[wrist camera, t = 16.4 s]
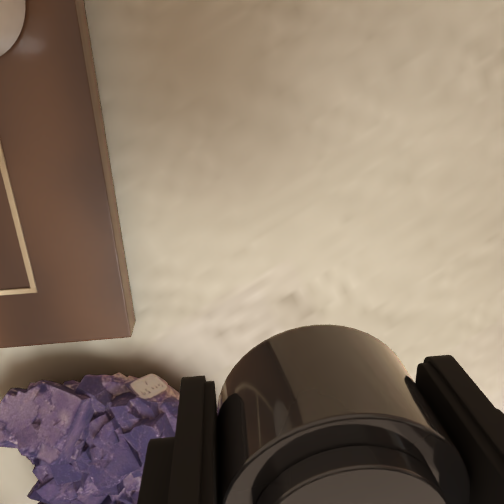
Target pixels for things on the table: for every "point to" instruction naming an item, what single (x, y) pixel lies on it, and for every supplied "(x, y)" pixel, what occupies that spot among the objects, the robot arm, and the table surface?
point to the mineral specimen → (88, 434)
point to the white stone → (10, 22)
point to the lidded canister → (331, 426)
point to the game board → (57, 189)
